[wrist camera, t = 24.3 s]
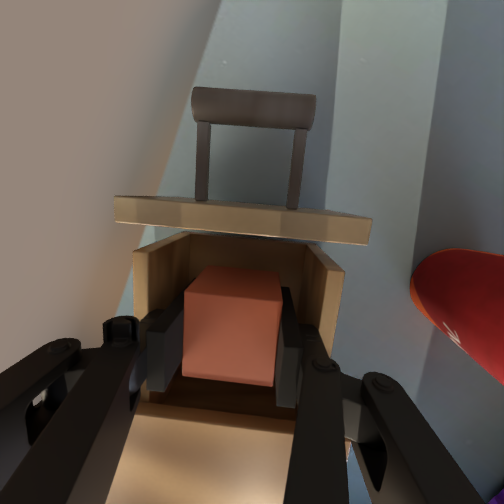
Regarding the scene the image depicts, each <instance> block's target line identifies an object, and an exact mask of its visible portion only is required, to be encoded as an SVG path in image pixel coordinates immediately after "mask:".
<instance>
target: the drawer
mask: <svg viewBox="0 0 504 504" xmlns="http://www.w3.org/2000/svg"><path fill="white" fill-rule="evenodd" d="M191 106H192V114H193V117H194V120H195V122H197V152H196V182H195V198H185V197H161V196H114V209H115V210H114V211H115V222H119V223H129V224H140V225H150V226H161V227H172V228H183V229H193V230H204V231H215V232H226V233H236V234H247V235H258V236H269V237H279V238H290V239H301V240H312V241H322V242H333V243H344V244H355V245H365V246H366V245H368V241H369V236H370V230H371V225H372V218H368V217H362V216H357V215H352V214H347V213H341V212H336V211H331V210H322V209H311V208H299V207H298V202H299V194H300V186H301V178H302V170H303V162H304V153H305V145H306V137H307V131H310V130H311V128H312V124H313V120H314V115H315V109H316V95H313V94H298V93H284V92H269V91H254V90H239V89H224V88H209V87H194V88H193V91H192V97H191ZM210 124H221V125H234V126H248V127H261V128H275V129H288V130H295V132H294V140H293V149H292V158H291V167H290V176H289V185H288V194H287V202H286V206H276V205H265V204H254V203H242V202H231V201H219V200H208V183H209V161H210V138H211V125H210ZM207 265H213V266H223V267H233V268H243V269H253V270H263V271H273V272H279V277H280V285H281V286H283V287H289V288H290V292H291V296H292V300H293V304H294V309H295V313H296V317H297V321H298V323H302V324H312V325H314V326H315V327H316V328H317V329H318V330H319V332H320V335H321V338H322V340H323V343H324V346H325V348H326V351H327V353H328V356H329V358H330V357H331V351H332V346H333V340H334V334H335V328H336V323H337V317H338V311H339V305H340V299H341V294H342V288H343V282H344V276H345V271H344V270H343V269H342V268H341V267H339V266H338V265H337V264H336V263H335V262H334V261H333V260H332V259H331V258H330V257H329V256H328V255H327V254H326V253H325V252H324V251H323V250H322V249H321V248H319V247H318V246H317V245H316V244H315V243H305V242H294V241H283V240H273V239H262V238H251V237H240V236H230V235H219V234H208V233H198V232H187V231H183V232H180V233H178V234H176V235H173V236H170V237H168V238H165V239H163V240H160V241H158V242H155V243H152V244H150V245H147V246H145V247H142V248H140V249H137V250H134V251H133V292H134V317H137V318H138V319H139V321H140V320H141V319H143V317H144V316H146V315H147V314H148V313H149V312H151V311H153V310H155V309H166V308H167V307H168V306H169V305H170V304H171V303H172V301H173V300H174V299H175V298H176V297H177V296H178V295H179V294H180V293H181V292H182V291H183V290H184V288H185V287H186V286H187V285H188V284H189V283H190V282H191V281H192V280H193V279H194V278H197V277H198V275H199V274H200V273H201V272H202V271H203V270H204V269H205V268H206V267H207ZM182 359H183V358H182ZM139 401H141V402H149V403H157V404H165V405H173V406H181V407H189V408H197V409H205V410H213V411H221V412H229V413H237V414H245V415H253V416H261V417H269V418H277V419H285V420H293V421H296V416H297V410H298V403H297V400H296V406H295V408H288V407H280V406H276V383H275V372H274V381H273V386H272V387H270V386H261V385H253V384H245V383H237V382H228V381H220V380H212V379H204V378H196V377H187V376H182V360H181V362H180V364H179V366H178V368H177V369H176V371H175V373H174V375H173V377H172V379H171V381H170V383H169V384H168V386H167V388H166V390H165V392H158V391H150V390H146V380H145V381H144V383H143V384H142V386H141V396H140V400H139Z"/></svg>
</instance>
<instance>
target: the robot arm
mask: <svg viewBox="0 0 504 504" xmlns="http://www.w3.org/2000/svg"><path fill="white" fill-rule="evenodd" d="M195 279H196V278H194V279H193V280H192V281H191V282H190V283H189V284H188V285H187V286H186V287H185V288H184V290H183V291H182V292H181V293H180V294H179V295H178V296H177V297H176V298H175V299H174V300H173V301H172V303H171V304H170V305H169V306H168V307H167V308H166V309H155V310H153V311H151V312H149V313H148V314H147V315H146V316H144V317H143V319H141V320H140V321H139V319H138V318H137V317H134V316H118V317H114V318H111V319H109V320H107V321H106V322H104V323H103V340H104V343H103V345H102V346H101V347H100V348H89V349H81V342H80V341H79V340H78V339H74V338H62V339H57V340H55V341H52V342H49V343H47V344H45V345H43V346H42V347H40V348H39V349H37V350H36V351H34V352H33V353H31V354H29V355H28V356H26V357H25V358H23V359H22V360H20V361H19V362H17V363H16V364H14V365H13V366H11V367H10V368H8V369H6V370H5V371H3V372H2V373H0V504H105V503H106V500H107V497H108V494H109V491H110V488H111V485H112V482H113V479H114V476H115V473H116V470H117V467H118V464H119V461H120V458H121V455H122V452H123V449H124V446H125V443H126V440H127V437H128V434H129V431H130V427H131V424H132V421H133V418H134V415H135V412H136V409H137V406H138V403H139V400H140V396H141V386H142V384H143V383H144V381H145V380H146V390H150V391H158V392H165V390H166V388H167V386H168V384H169V383H170V381H171V379H172V377H173V375H174V373H175V371H176V369H177V368H178V366H179V364H180V362H181V360H182V358H183V323H184V291H185V290H186V289H187V288H188V287H189V285H190V284H191V283H192V282H193V281H194V280H195ZM281 292H282V299H283V306H282V314H281V322H280V330H279V338H278V347H277V355H276V363H275V383H276V406H280V407H288V408H295V406H296V400H297V403H298V410H297V416H296V423H295V429H294V436H293V442H292V448H291V455H290V461H289V468H288V474H287V481H286V487H285V494H284V500H283V504H349V492H348V477H347V461H346V446H345V437H346V438H348V439H350V440H351V444H352V447H353V449H354V452H355V455H356V458H357V461H358V464H359V467H360V470H361V473H362V476H363V479H364V481H365V484H366V487H367V490H368V493H369V496H370V499H371V502H372V504H485V502H484V501H483V499H482V498H481V497H480V495H479V494H478V492H477V491H476V490H475V488H474V487H473V485H472V484H471V483H470V481H469V480H468V478H467V477H466V476H465V474H464V473H463V471H462V470H461V469H460V467H459V466H458V464H457V463H456V462H455V460H454V459H453V457H452V456H451V455H450V453H449V452H448V450H447V449H446V448H445V446H444V445H443V443H442V442H441V441H440V439H439V438H438V436H437V435H436V434H435V432H434V431H433V429H432V428H431V427H430V425H429V424H428V422H427V421H426V420H425V418H424V417H423V415H422V414H421V413H420V411H419V410H418V408H417V407H416V406H415V404H414V403H413V401H412V400H411V399H410V397H409V396H408V394H407V393H406V392H405V390H404V389H403V387H402V386H401V385H400V384H399V383H398V382H397V381H395V380H394V379H392V378H391V377H389V376H387V375H385V374H382V373H378V372H368V373H366V374H364V376H363V379H362V380H360V379H357V378H354V377H351V376H348V375H346V374H344V373H342V372H341V370H340V367H339V365H338V364H337V363H336V362H335V361H334V360H332V359H331V358H329V356H328V353H327V351H326V348H325V346H324V343H323V340H322V338H321V335H320V332H319V330H318V329H317V328H316V327H315V326H314V325H312V324H302V323H298V321H297V317H296V313H295V309H294V304H293V300H292V296H291V292H290V288H289V287H283V286H281ZM40 393H41V399H42V400H41V401H40V402H39V403H38V404H37V405H35V406H33V399H34V398H35V397H36V396H38V395H39V394H40Z"/></svg>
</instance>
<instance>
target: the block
mask: <svg viewBox="0 0 504 504" xmlns="http://www.w3.org/2000/svg"><path fill="white" fill-rule="evenodd" d="M282 306H283V299H282V292H281V285H280V277H279V272H273V271H263V270H253V269H243V268H233V267H223V266H213V265H207V267H206V268H205V269H204V270H203V271H202V272H201V273H200V274H199V275H198V277H197V278H196V279H195V280H194V281H193V282H192V283H191V284H190V285H189V287H188V288H187V289H186V290H185V291H184V323H183V359H182V376H187V377H196V378H204V379H212V380H220V381H228V382H237V383H245V384H253V385H261V386H270V387H272V386H273V381H274V372H275V363H276V355H277V347H278V338H279V330H280V322H281V314H282Z"/></svg>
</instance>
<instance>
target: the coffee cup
mask: <svg viewBox="0 0 504 504" xmlns="http://www.w3.org/2000/svg"><path fill="white" fill-rule="evenodd" d="M410 294H411V298H412V300H413V302H414V304H415V306H416V307H417V308H418V309H419V310H420V311H421V312H422V313H423V314H424V315H425V316H426V317H427V318H428V319H429V320H430V321H431V322H432V323H433V324H434V325H436V326H437V327H438V328H439V329H440V330H441V331H442V332H443V333H444V334H446V335H447V336H448V337H449V338H450V339H451V340H452V341H453V342H455V343H456V344H457V345H458V346H459V347H460V348H461V349H463V350H464V351H465V352H466V353H467V354H468V355H469V356H470V357H472V358H473V359H474V360H475V361H476V362H477V363H478V364H480V365H481V366H482V367H483V368H484V369H485V370H486V371H487V372H489V373H490V374H491V375H492V376H493V377H494V378H495V379H497V380H498V381H499V382H500V383H501V384H502V385H503V386H504V255H500V254H494V253H488V252H482V251H475V250H469V249H460V248H451V249H444V250H441V251H438V252H436V253H433V254H432V255H430V256H428V257H427V258H426V259H424V260H423V261H422V262H421V263H420V264H419V265H418V267H417V268H416V270H415V271H414V273H413V275H412V278H411V282H410Z"/></svg>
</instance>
